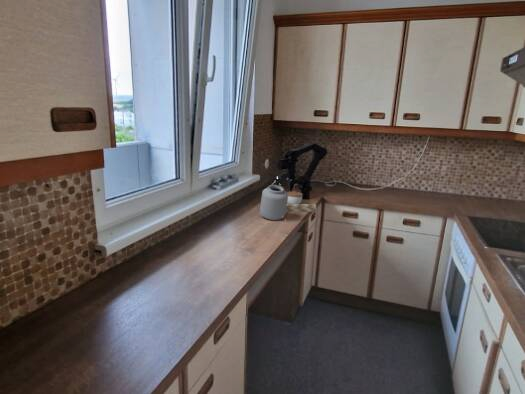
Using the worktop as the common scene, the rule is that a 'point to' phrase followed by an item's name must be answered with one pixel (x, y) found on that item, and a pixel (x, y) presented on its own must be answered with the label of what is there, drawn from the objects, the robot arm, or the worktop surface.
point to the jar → (273, 202)
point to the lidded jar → (294, 197)
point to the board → (300, 208)
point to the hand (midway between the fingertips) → (290, 191)
